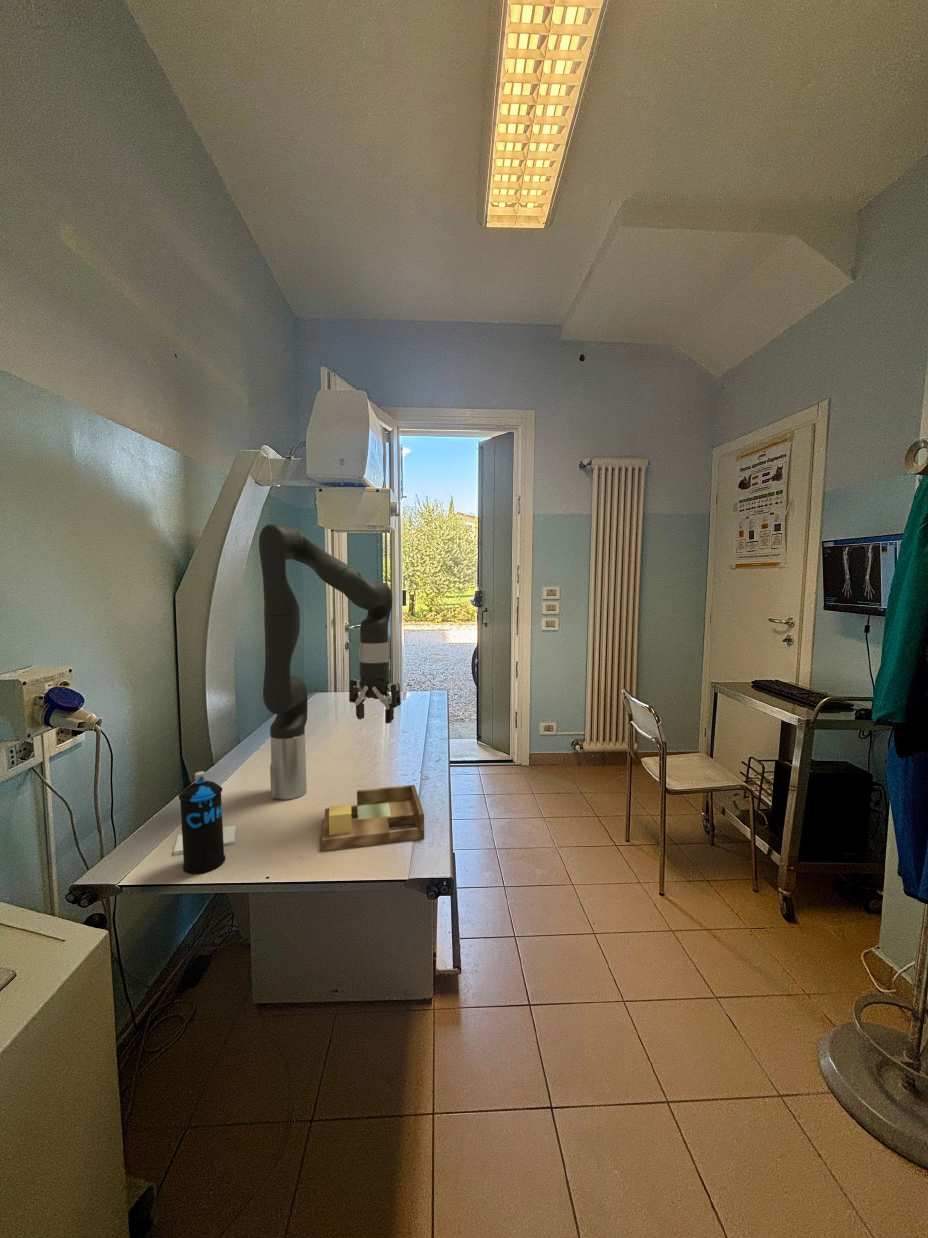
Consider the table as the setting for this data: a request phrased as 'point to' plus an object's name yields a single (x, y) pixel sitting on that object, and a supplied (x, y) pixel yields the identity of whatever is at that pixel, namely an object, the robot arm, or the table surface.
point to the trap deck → (380, 819)
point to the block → (340, 819)
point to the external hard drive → (228, 839)
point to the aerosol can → (202, 826)
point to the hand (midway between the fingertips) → (374, 720)
